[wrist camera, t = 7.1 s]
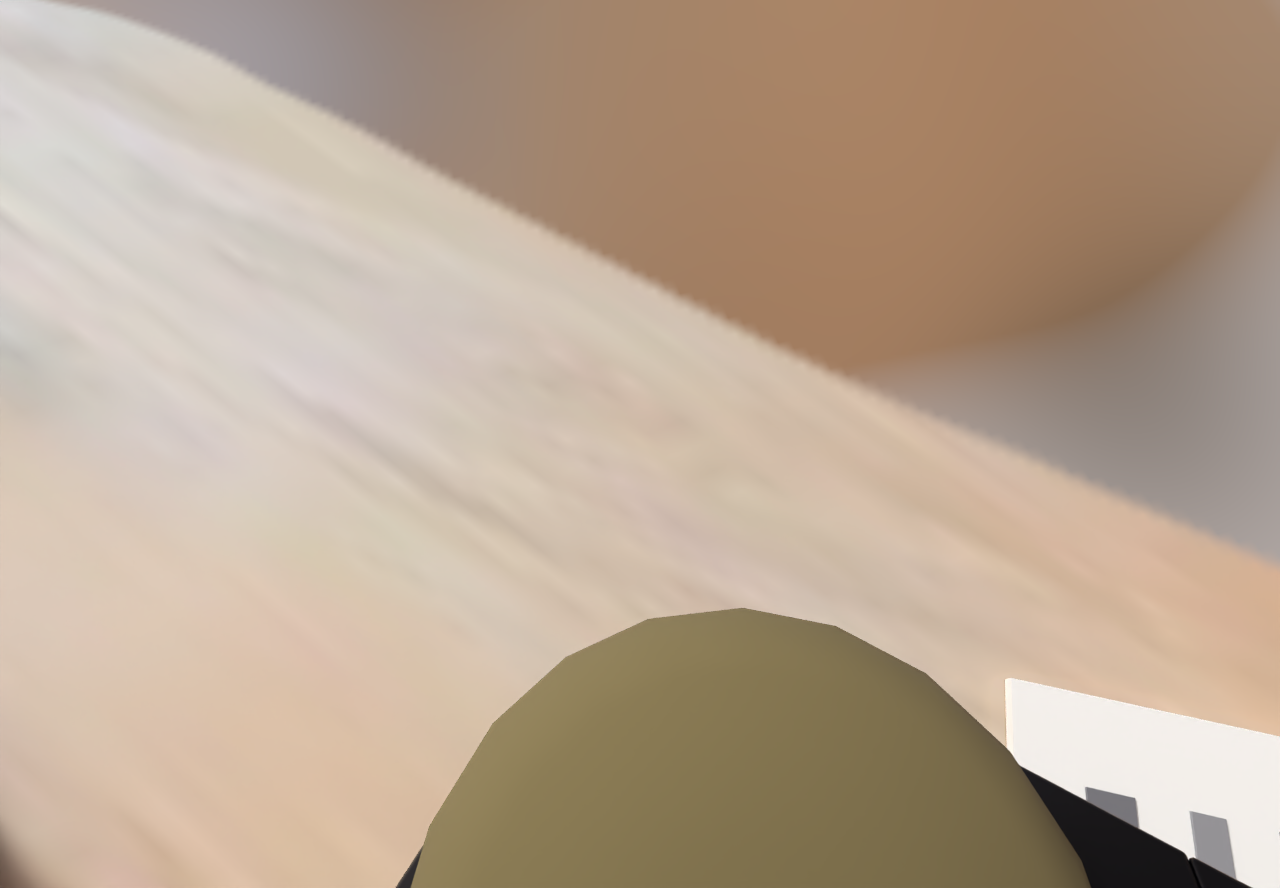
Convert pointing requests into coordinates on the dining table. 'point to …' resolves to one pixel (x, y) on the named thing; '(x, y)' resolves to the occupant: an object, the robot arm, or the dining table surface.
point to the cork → (742, 773)
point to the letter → (1158, 773)
